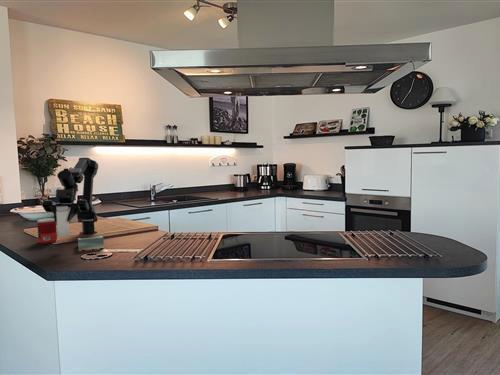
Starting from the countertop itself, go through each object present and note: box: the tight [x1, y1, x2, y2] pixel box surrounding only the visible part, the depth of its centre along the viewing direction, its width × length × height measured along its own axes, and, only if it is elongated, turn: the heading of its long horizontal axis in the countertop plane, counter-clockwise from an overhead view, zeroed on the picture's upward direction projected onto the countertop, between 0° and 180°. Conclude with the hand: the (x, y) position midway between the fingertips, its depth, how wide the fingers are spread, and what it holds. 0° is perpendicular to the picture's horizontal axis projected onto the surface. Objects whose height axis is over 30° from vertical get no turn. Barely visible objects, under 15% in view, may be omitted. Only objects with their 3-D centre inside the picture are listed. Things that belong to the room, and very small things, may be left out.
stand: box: [77, 235, 105, 252], centre depth 171 cm, size 11×10×5 cm
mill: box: [56, 206, 70, 238], centre depth 165 cm, size 5×5×13 cm
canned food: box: [36, 217, 58, 245], centre depth 181 cm, size 8×8×11 cm
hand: (61, 221), depth 163 cm, fingers closed on mill, 5 cm apart
